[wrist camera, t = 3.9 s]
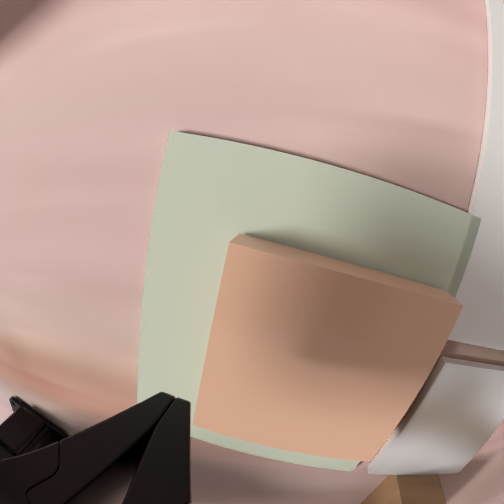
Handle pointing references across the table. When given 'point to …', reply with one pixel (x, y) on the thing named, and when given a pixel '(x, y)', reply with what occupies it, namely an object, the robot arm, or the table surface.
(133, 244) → the table surface
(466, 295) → the tool pad
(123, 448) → the robot arm
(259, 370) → the tile
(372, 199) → the felt mat
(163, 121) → the table surface
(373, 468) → the turner
